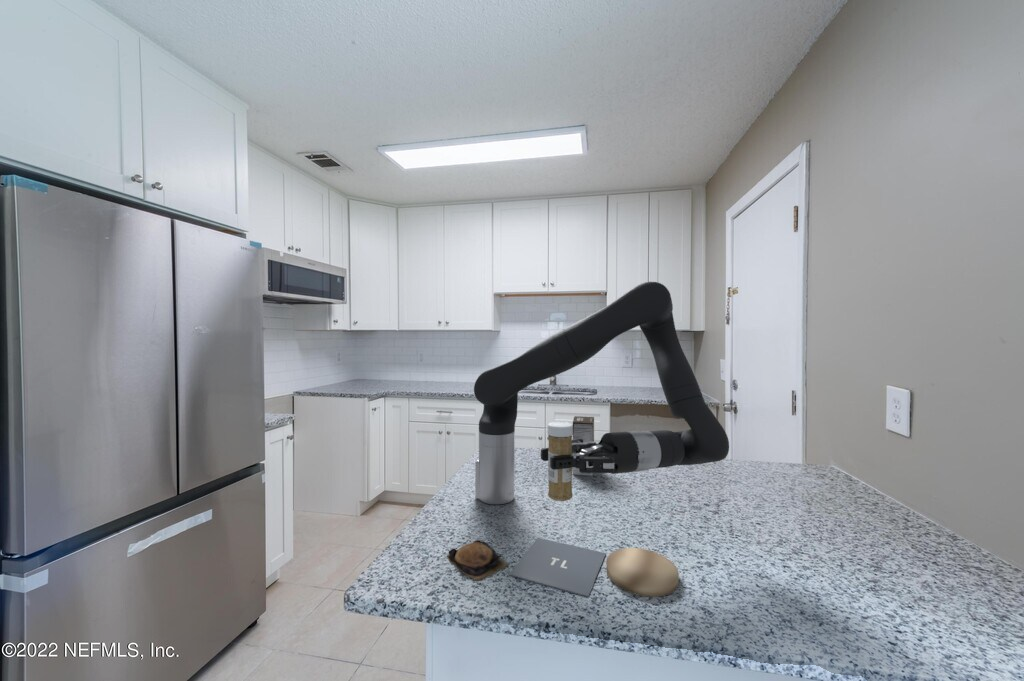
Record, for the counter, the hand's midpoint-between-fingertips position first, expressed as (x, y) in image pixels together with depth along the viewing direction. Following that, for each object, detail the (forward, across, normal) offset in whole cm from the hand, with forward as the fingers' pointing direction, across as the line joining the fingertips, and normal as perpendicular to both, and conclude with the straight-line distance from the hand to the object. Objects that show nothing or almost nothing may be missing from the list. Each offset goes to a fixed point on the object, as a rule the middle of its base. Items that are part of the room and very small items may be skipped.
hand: (546, 458), depth 73 cm
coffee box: (-29, -46, +20) cm, 58 cm away
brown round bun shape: (+12, -5, +20) cm, 24 cm away
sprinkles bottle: (-3, 0, +8) cm, 8 cm away
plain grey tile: (-3, 0, +20) cm, 20 cm away
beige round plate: (-15, +7, +20) cm, 26 cm away
